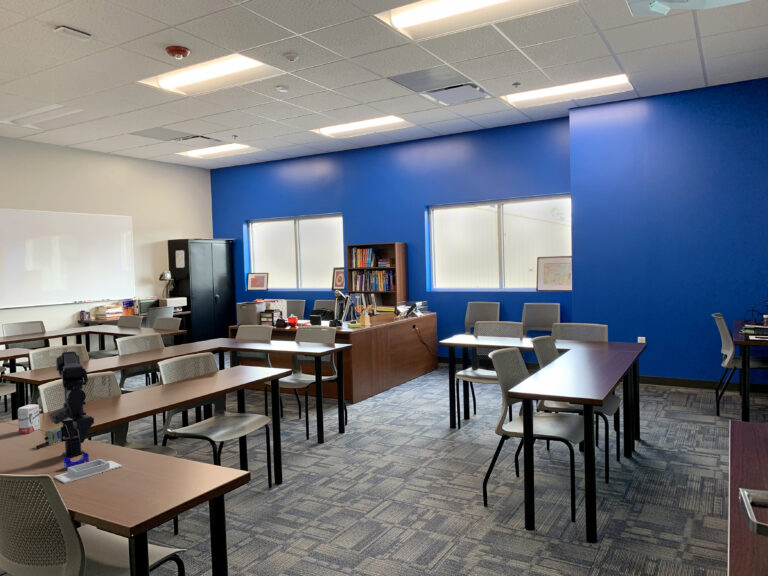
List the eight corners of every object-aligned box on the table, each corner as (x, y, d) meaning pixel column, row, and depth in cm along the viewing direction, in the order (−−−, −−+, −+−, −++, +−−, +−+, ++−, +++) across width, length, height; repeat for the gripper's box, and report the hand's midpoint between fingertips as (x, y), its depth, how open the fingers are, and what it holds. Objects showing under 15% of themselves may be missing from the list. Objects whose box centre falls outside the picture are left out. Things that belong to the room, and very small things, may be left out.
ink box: (28, 433, 259) (27, 408, 259) (18, 434, 259) (17, 408, 259) (40, 428, 268) (39, 403, 268) (30, 428, 268) (29, 403, 268)
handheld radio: (83, 432, 260) (40, 450, 235) (77, 432, 260) (34, 450, 236) (82, 418, 260) (39, 434, 235) (76, 418, 260) (32, 434, 236)
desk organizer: (54, 477, 203) (54, 470, 203) (111, 462, 218) (110, 455, 218) (64, 483, 197) (64, 476, 197) (121, 466, 212) (121, 460, 212)
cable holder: (66, 470, 210) (66, 459, 210) (64, 468, 213) (63, 457, 213) (90, 465, 216) (89, 454, 215) (87, 462, 218) (86, 452, 218)
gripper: (41, 400, 213) (43, 441, 213) (61, 407, 201) (63, 451, 201) (73, 394, 221) (75, 434, 222) (93, 401, 209) (95, 443, 210)
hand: (76, 440), depth 214 cm, fingers open, 9 cm apart
